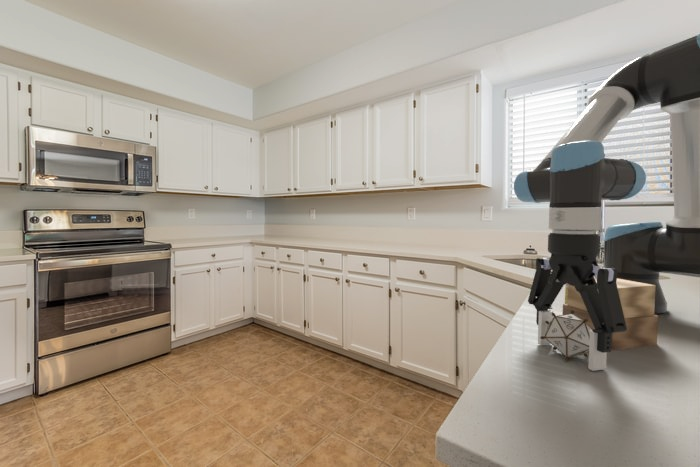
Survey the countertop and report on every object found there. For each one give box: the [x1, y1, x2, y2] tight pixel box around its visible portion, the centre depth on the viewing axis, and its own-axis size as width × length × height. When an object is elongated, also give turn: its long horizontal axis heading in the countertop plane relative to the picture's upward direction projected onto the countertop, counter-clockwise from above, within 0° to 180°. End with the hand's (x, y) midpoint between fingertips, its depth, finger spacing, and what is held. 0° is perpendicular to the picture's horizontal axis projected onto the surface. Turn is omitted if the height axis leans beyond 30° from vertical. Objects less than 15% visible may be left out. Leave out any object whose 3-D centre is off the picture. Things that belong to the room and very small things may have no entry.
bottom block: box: [562, 303, 659, 351], centre depth 66 cm, size 11×11×6 cm
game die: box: [540, 310, 593, 363], centre depth 57 cm, size 9×8×10 cm
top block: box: [567, 278, 656, 318], centre depth 66 cm, size 10×10×6 cm
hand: (568, 355), depth 57 cm, fingers closed on game die, 10 cm apart
